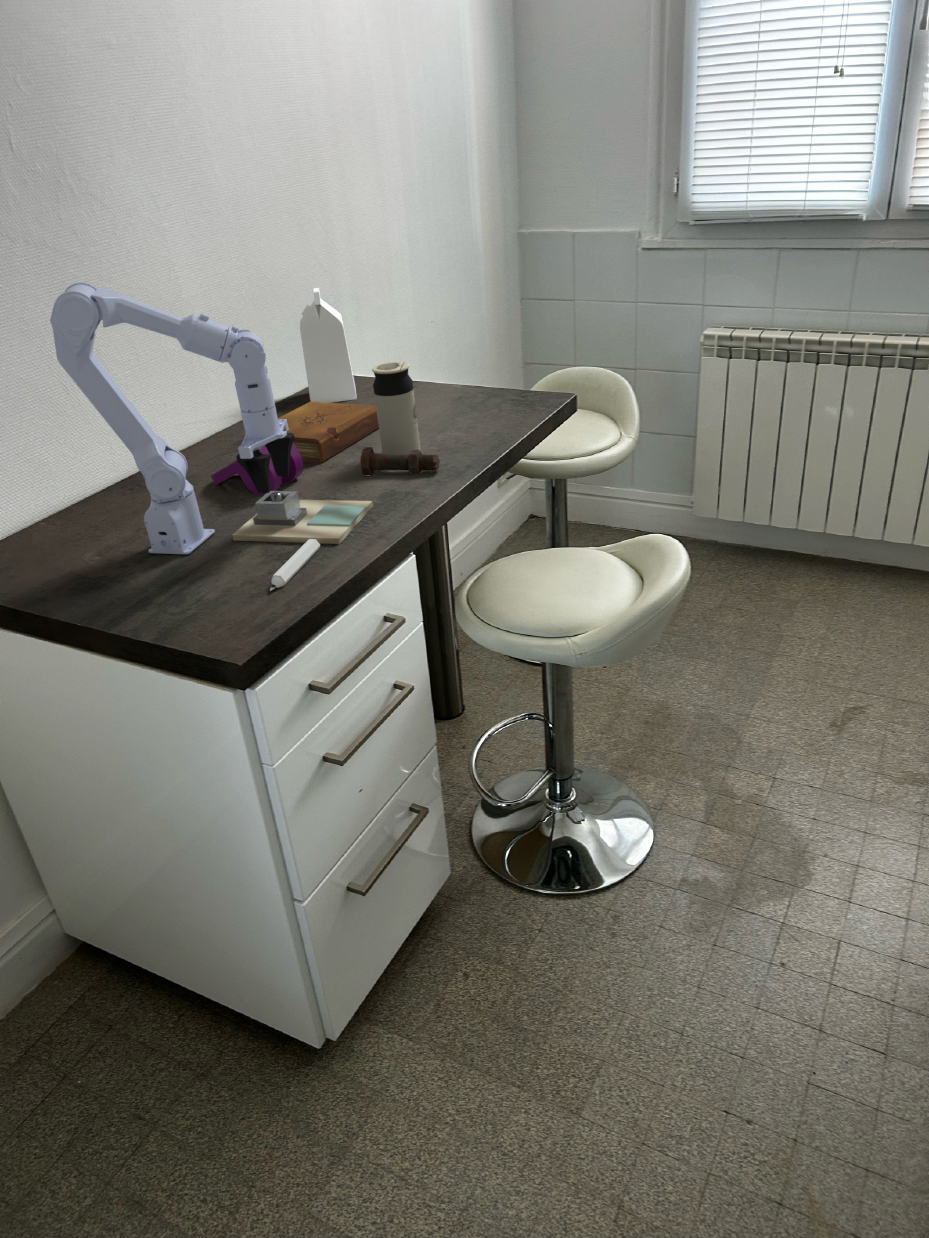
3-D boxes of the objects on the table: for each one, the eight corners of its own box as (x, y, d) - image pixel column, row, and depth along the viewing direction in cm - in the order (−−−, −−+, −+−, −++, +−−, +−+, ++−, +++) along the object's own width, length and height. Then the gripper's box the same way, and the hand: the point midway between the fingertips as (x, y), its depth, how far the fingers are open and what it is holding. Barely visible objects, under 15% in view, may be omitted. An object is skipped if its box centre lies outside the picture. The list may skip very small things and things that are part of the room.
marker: (271, 600, 140) (313, 553, 153) (280, 594, 139) (322, 548, 152) (260, 586, 139) (304, 540, 152) (269, 581, 138) (313, 535, 151)
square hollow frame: (287, 520, 159) (284, 504, 157) (258, 519, 160) (254, 503, 159) (300, 507, 163) (297, 491, 162) (272, 506, 165) (269, 491, 163)
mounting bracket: (224, 517, 185) (280, 488, 174) (201, 480, 183) (257, 449, 172) (254, 499, 192) (309, 470, 181) (232, 464, 190) (287, 432, 179)
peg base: (295, 525, 159) (290, 499, 157) (254, 524, 161) (248, 498, 159) (307, 514, 163) (302, 488, 161) (267, 513, 166) (261, 487, 163)
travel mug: (377, 459, 188) (365, 372, 180) (389, 446, 195) (377, 361, 186) (414, 459, 186) (403, 371, 178) (425, 446, 193) (415, 360, 184)
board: (339, 543, 153) (338, 536, 153) (233, 540, 159) (231, 533, 158) (372, 506, 166) (371, 499, 166) (273, 504, 172) (272, 497, 171)
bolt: (438, 482, 179) (365, 481, 182) (442, 462, 182) (370, 461, 185) (433, 463, 174) (358, 462, 177) (437, 442, 177) (363, 442, 180)
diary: (324, 466, 190) (319, 439, 187) (253, 459, 198) (248, 433, 195) (381, 429, 208) (378, 404, 205) (314, 424, 216) (310, 400, 213)
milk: (356, 399, 230) (340, 291, 217) (311, 405, 229) (291, 297, 216) (355, 386, 240) (339, 283, 227) (311, 392, 239) (293, 288, 227)
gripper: (259, 421, 145) (276, 500, 152) (297, 394, 157) (311, 468, 164) (220, 421, 147) (238, 499, 154) (260, 394, 159) (276, 468, 166)
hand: (274, 483), depth 159 cm, fingers open, 7 cm apart
